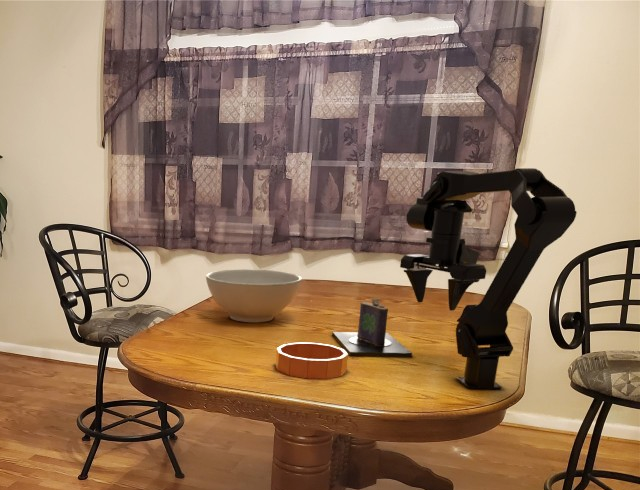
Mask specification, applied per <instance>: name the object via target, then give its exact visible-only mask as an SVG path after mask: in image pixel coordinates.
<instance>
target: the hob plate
mask: <svg viewBox="0 0 640 490" xmlns="http://www.w3.org/2000/svg"><path fill="white" fill-rule="evenodd" d="M357 334H358V331H332V334H331V336H332V337H333V339H334V340H335V341H336V342H337V344H339V345H340V347H341V348H342V349H344V350H345V351H346V352H347V354H348V357H372V358H373V357H376V358H377V357H379V358H412V357H413V352H411V351H410V350H409V348H407V347H405V346H404V345H403V344H402V343H401V342H399V341H398V340H397V339H395V338H394V337H393V336H392V335H391V334H390V333H389V332H386V334H385V345H384V346H378V345H375V344H372V343H370V342H367V341H364V340H362V339H359V338H358V337H357Z"/></svg>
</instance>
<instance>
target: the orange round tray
mask: <svg viewBox="0 0 640 490" xmlns="http://www.w3.org/2000/svg"><path fill="white" fill-rule="evenodd" d="M275 349H276V350H275V363H274V364H275V365H274V366H275V368H276V370H277V372H280V373H283V374H285V375H287V376H291V377H297V378H300V379H301V378H302V379H310V380H311V379H314V380H327V379H333V378H338V377H339V378H340V377H342V376H343V375H344V374H346V373H347V367H348V357H349V354H348V353H347V352H346V351H345V350H344V349H343V348H342V347H338V346H335V345H332V344H326V343H325V344H324V343H320V342H319V343H318V342H317V343H316V342H292V343H287V344H286V343H284V344H281V345H280V346H278V347H276V348H275Z"/></svg>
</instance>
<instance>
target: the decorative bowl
mask: <svg viewBox="0 0 640 490" xmlns="http://www.w3.org/2000/svg"><path fill="white" fill-rule="evenodd" d="M205 279H206V280H205V281H206V284H207V287H208V290H209V292H210V294H211V297H212V299H213V300H214V301H215V303H216V304H217V305H218V306H219V308H221V309H222V310H223V311H224V312H226V313H227V314H228V315H229V318H230V319H231V320H233V321H237V322H242V323H243V322H244V323H265V322H270V321H272V320H273V319H274V316H275V315H277V314H279V313H280V312H282V311H283V310H284V309H286V308H287V307H288V306H289V304H290V303H292V301H293V299H294V298H295V296H296V294H297V293H298V292H299V289H300V286H301V284H302V281H303V280H302V277H301V276H300V275H299V274H295V273H292V272H288V271H281V270H280V271H279V270H273V269H272V270H271V269H256V268H255V269H254V268H253V269H252V268H251V269H250V268H248V269H246V268H243V269H241V268H239V269H224V270H223V269H222V270H215V271H212V272H209V273H207V274H206V275H205Z"/></svg>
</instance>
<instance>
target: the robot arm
mask: <svg viewBox="0 0 640 490" xmlns="http://www.w3.org/2000/svg"><path fill="white" fill-rule="evenodd" d="M503 192H504V193H505V192H509V193H510V194H511V195H510V206H511V208H512V210H513V211H514V212H515V214H516V219H515V222H514V234H515V240H514V241H513V243H512V245H511V247H510V249H509V251H508V252H507V254H506V255H505V258H504V260H503V261H502V263H501V265H500V267H499V269H498V271H497V272H496V273H495V275H494V278H492V279H493V280H492V281H491V283H490V285H489V287H488V288H487V290H486V292H485V294H484V295H483V298H482V299H481V301H480V302H479V303H477V304H475V303H474V304H466V305H465V307H463V310H462V313H461V314H460V316H459V317H458V318H457V320H456V322H457V324H456V327H455V338H456V340H455V341H456V346H457V347H456V349H457V354H458V355H461V357H462V358H466V362H465V367H464V374H463V376H457V377H456V380H457V381H458V382H460V383H461V385H463V386H465V387H466V388H467V389H474V390H475V389H479V390H481V389H483V390H502V388H503V386H502V385H500V384H499V383H498V382H496V379H497V374H498V373H497V372H498V367H499V361H500V357H501V358H502V357H503V358H504V357H507V358H508V357H510V356H511V354H512V352H513V350H514V346H513V344H512V342H511V340H510V338H509V335H508V334H507V332H506V331H507V328H508V326H509V320H508V311H509V309H510V307H511V305H512V304H513V302H514V301H515V299H516V297H517V295H518V294H519V292H520V290H521V289H522V287H523V285H525V282H526V281H527V279H528V277H529V275H530V273H531V272H532V270H533V268H534V267H535V265H536V264H537V262H538V260H539V259H540V257H541V255H542V254H543V252H544V250H546V248H547V247H549V246H550V245H552V244H553V243H554V242H556V241H557V240H559V239H560V238H561V237H562V236H563V235H564V234H565V233H566V232H567V230H568V229H569V228H570V227H571V226H572V224H573V223H574V222H575V220H576V217H577V213H578V212H577V210H576V205H575V203H574V201H573V200H572V199H571V198H570V197H569V196H567V194H566V193H565V191H564V190H563V189H562V188H560V187H559V186H557V185H556V184H554V183H553V182H552V181H550V180H549V179H547V178H546V176H545V175H544V173H543V172H542V171H541V170H539V169H537V168H533V167H532V168H531V167H529V168H524V167H523V168H520V167H519V168H518V167H517V168H513V169H511V170H504V171H503V170H502V171H491V172H481V173H480V172H479V173H478V172H475V171H467V170H463V171H462V170H460V171H459V170H458V171H456V170H455V171H453V170H452V171H440V172H438V173H437V174H436V176H435V178H434V179H433V180H432V182H431V184H430V185H429V187H428V188H427V191H426V192H425V193H424V194H423V196H422V197H417V198H416V201H415V203H414V204H412V205H411V206H410V207H409V209H408V211H407V213H406V215H405V216H406V217H405V219H406V223H407V225H408V226H409V227H410V228H411V229H415V230H422V231H428V232H431V233H430V237H426V239H425V243H427V244H429V250H428V254H422V253H414V254H404V255H403V256H402V258H401V259H400V265H399V268H401V269H403V273H405V274H406V276H407V278H408V281H409V282H410V286H411V287H412V291H413V293H414V297H415V298H416V301H417V303H423V302H424V298H425V293H426V290H427V289H426V288H427V283H428V278H429V276H430V275H431V274H432V273H433V271H434V270H435V271H439V272H445V273H449V275H450V277H451V278H448V279H447V287H448V288H447V289H448V290H447V293H448V309H449V311H451V312H452V311H455V310H456V309H457V307H458V305H459V304H460V302H461V299H462V298H463V296H464V294H465V293H466V292H467V290H468V289H469V287H470V286H472V285H473V284H475V283H479V282H480V281H481V280H485V279H486V275H487V268H486V266H485V265H484V264H480V263H478V261H479V258H480V256H481V252H479V251H477V250H475V249H473V248H471V247H467V246H466V240H465V238H461V237H462V231H463V224H464V218H465V214H466V213H472V212H473V209H472V207H471V206H470V205H469V204H468V203H467V200H469V199H473V198H476V197H477V196H478V195H480V194H490V193H503ZM529 193H530V194H531V195H532V196H530V194H529Z"/></svg>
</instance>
